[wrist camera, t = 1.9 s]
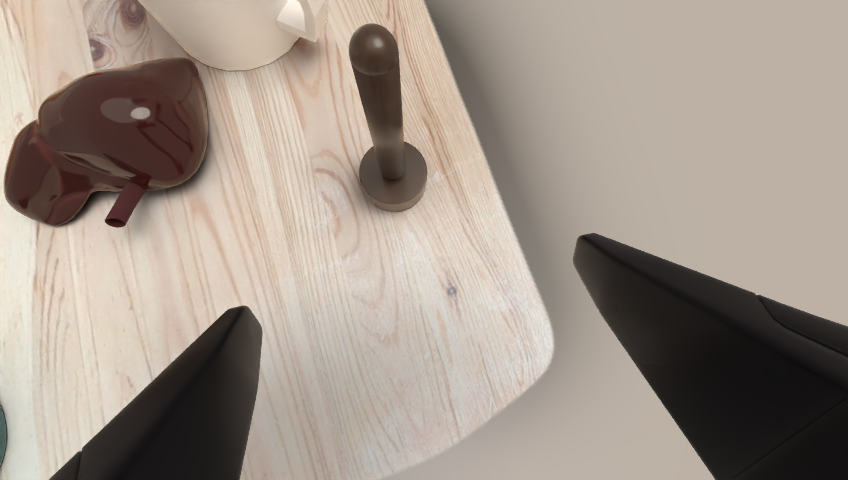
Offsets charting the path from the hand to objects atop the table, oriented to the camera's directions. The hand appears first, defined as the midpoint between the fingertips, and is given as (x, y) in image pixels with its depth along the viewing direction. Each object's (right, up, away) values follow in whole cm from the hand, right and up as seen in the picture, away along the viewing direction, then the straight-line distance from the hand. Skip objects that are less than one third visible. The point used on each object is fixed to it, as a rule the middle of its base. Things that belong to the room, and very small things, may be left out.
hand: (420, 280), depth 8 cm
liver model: (-20, +7, +13) cm, 25 cm away
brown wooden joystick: (-2, +5, +14) cm, 15 cm away
